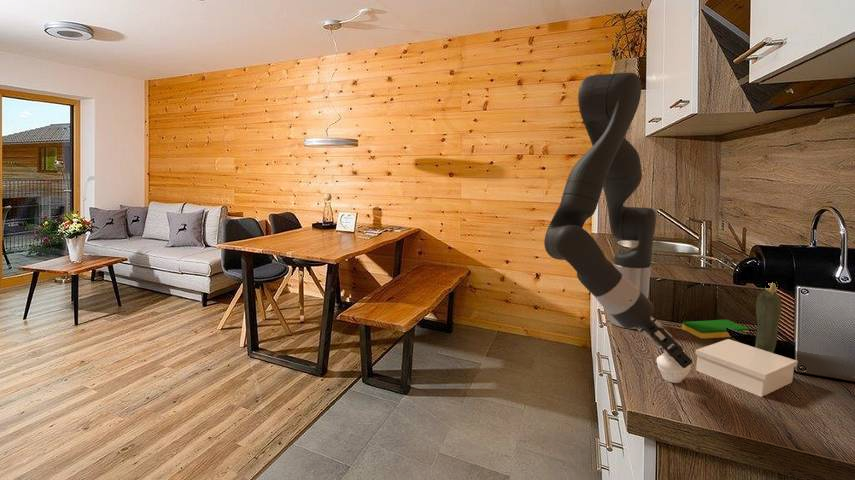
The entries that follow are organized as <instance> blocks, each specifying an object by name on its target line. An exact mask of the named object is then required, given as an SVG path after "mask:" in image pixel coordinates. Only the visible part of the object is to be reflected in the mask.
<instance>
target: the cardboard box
mask: <svg viewBox="0 0 855 480" xmlns="http://www.w3.org/2000/svg"><path fill="white" fill-rule="evenodd" d="M694 354H695V355H696V356H697V358H696V366H695V367H696V368H695V371H696V372H699V373H701V374H703V375H706V376H708V377H712V378H714V379H716V380H718V381H721V382H724V383H726V384H728V385H730V386H733V387H736V388H739V389H741V390H743V391H746V392H748V393H751V394H753V395H756V396H757V397H758V396H759V397H761V398H762V397H765V396H766V395H769V394H771V393H773V392H775V391H777V390H779V389H781V388H783V387H784V386H788V385H790V384H791V383H793V379H794V371H795V367H798V360H796V359H793V358H790V357H786V356H783V355H780V354H777V353H774V352H773V353H771V352H768V351H765V350H761V349H758V348H755V346H751V345H749V344H745V343H742V342H739V341H736V340H733V339H730V338H727V339H724V340H721V341H718V342H715V343H712V344H710V345H706V346H704V347H703V346H702V347H699V348H697V349H695V353H694Z"/></svg>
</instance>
